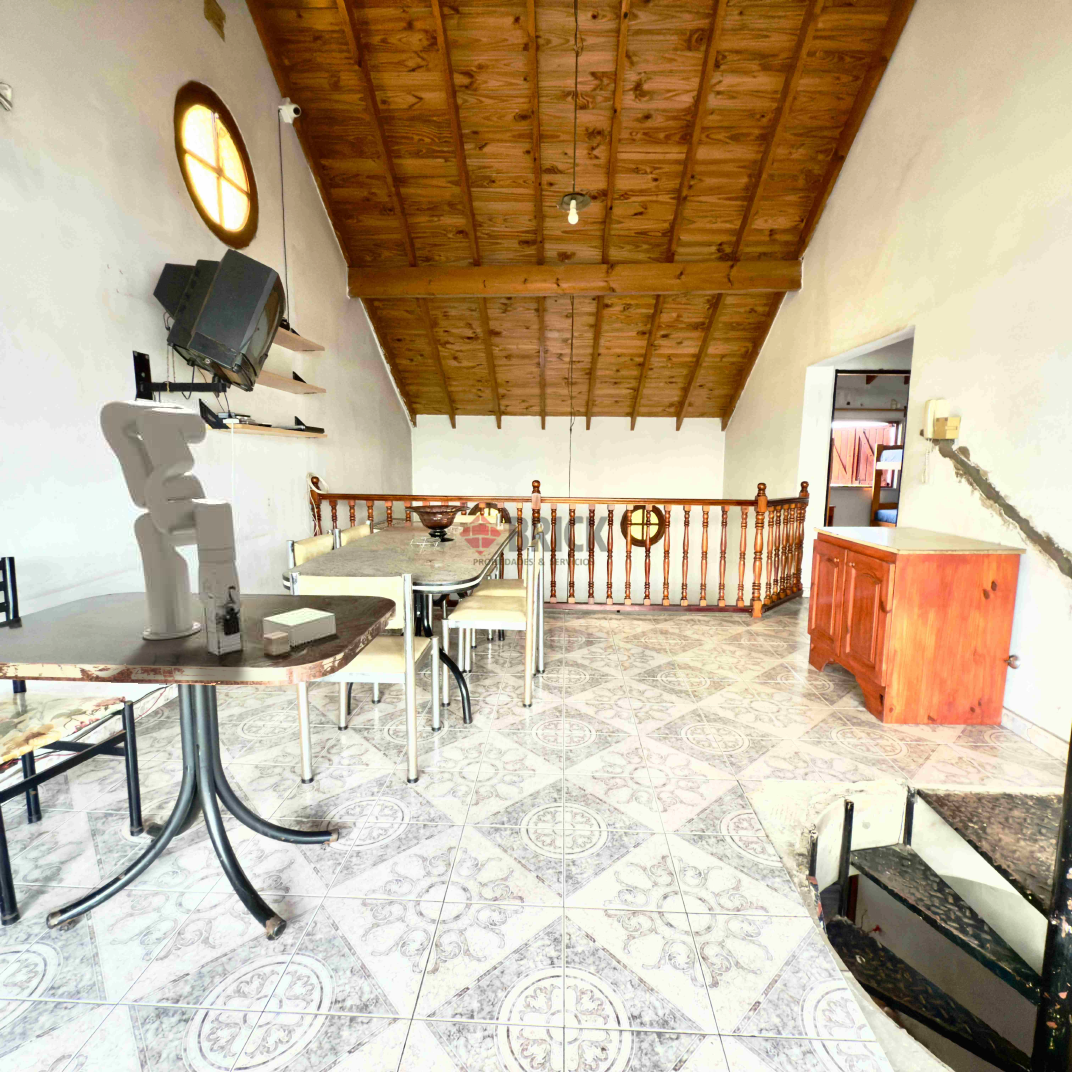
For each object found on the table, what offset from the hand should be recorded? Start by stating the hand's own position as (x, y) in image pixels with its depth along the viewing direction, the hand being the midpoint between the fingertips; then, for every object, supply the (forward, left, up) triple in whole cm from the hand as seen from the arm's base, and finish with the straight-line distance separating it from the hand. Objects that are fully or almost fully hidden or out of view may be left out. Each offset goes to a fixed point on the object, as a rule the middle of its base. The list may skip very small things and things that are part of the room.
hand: (224, 631), depth 131 cm
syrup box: (0, 0, -5) cm, 5 cm away
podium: (+5, +16, -5) cm, 17 cm away
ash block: (+11, +6, -5) cm, 13 cm away
